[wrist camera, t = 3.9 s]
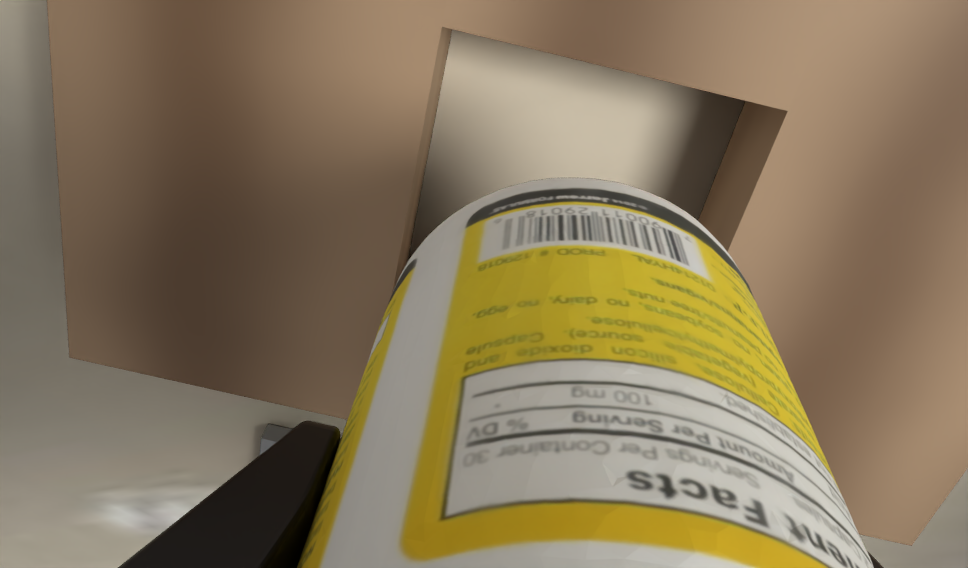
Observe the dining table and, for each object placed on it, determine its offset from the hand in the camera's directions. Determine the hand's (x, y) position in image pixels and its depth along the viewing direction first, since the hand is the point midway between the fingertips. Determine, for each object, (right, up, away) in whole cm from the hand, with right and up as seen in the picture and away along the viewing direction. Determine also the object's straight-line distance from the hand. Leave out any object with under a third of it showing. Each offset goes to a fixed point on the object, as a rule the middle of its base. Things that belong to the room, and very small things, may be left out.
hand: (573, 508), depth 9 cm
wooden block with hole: (+1, +5, +8) cm, 10 cm away
